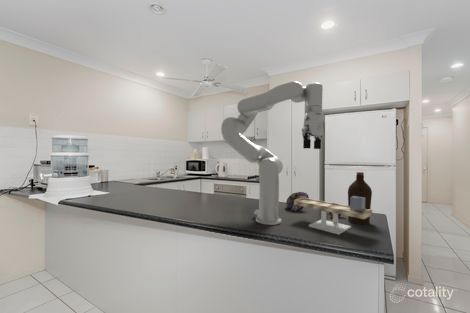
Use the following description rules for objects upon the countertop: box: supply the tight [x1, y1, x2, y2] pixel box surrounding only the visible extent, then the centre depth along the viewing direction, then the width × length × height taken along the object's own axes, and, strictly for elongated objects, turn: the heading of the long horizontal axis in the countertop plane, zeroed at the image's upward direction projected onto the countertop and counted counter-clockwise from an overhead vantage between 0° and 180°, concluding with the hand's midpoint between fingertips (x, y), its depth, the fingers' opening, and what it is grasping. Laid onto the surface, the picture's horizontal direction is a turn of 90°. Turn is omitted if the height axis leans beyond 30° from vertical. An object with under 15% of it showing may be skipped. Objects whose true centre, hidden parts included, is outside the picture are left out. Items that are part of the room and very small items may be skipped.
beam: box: [294, 197, 373, 219], centre depth 106 cm, size 32×11×3 cm, turn 44°
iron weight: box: [350, 196, 365, 213], centre depth 98 cm, size 4×4×6 cm
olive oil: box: [347, 171, 373, 226], centre depth 116 cm, size 11×11×25 cm
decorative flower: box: [285, 191, 310, 213], centre depth 139 cm, size 15×12×15 cm
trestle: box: [308, 210, 352, 235], centre depth 106 cm, size 14×13×8 cm
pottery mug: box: [328, 212, 342, 219], centre depth 126 cm, size 12×10×8 cm
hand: (312, 148), depth 105 cm, fingers open, 9 cm apart
